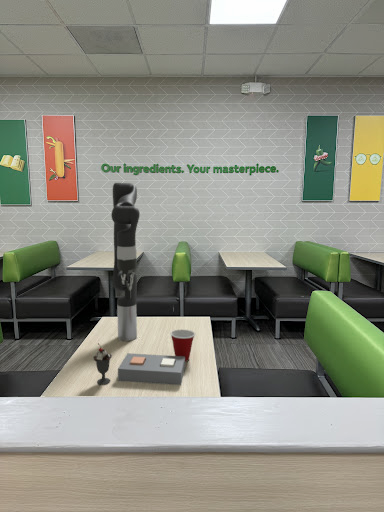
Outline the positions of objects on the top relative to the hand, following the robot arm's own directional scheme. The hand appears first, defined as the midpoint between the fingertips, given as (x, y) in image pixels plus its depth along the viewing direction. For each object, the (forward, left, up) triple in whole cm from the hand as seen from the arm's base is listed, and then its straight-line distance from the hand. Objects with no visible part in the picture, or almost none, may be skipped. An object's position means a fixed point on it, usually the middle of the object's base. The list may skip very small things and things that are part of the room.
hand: (128, 298), depth 136 cm
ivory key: (+7, +18, -26) cm, 33 cm away
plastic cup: (-7, +22, -28) cm, 36 cm away
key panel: (+7, +12, -28) cm, 31 cm away
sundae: (+15, -6, -28) cm, 33 cm away
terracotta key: (+7, +6, -26) cm, 28 cm away
